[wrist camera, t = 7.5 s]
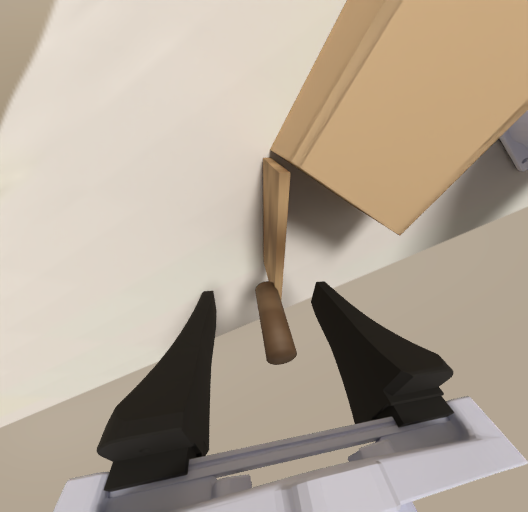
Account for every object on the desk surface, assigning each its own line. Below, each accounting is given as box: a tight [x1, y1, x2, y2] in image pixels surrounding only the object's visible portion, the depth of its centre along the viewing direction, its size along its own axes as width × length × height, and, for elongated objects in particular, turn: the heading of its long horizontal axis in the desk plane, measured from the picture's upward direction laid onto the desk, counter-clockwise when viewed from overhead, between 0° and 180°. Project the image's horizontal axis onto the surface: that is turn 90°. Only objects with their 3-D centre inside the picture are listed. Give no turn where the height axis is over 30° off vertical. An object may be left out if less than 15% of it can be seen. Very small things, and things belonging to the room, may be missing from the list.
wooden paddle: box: [255, 158, 297, 365], centre depth 13 cm, size 10×2×11 cm, turn 0°
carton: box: [270, 0, 528, 235], centre depth 12 cm, size 10×11×6 cm
